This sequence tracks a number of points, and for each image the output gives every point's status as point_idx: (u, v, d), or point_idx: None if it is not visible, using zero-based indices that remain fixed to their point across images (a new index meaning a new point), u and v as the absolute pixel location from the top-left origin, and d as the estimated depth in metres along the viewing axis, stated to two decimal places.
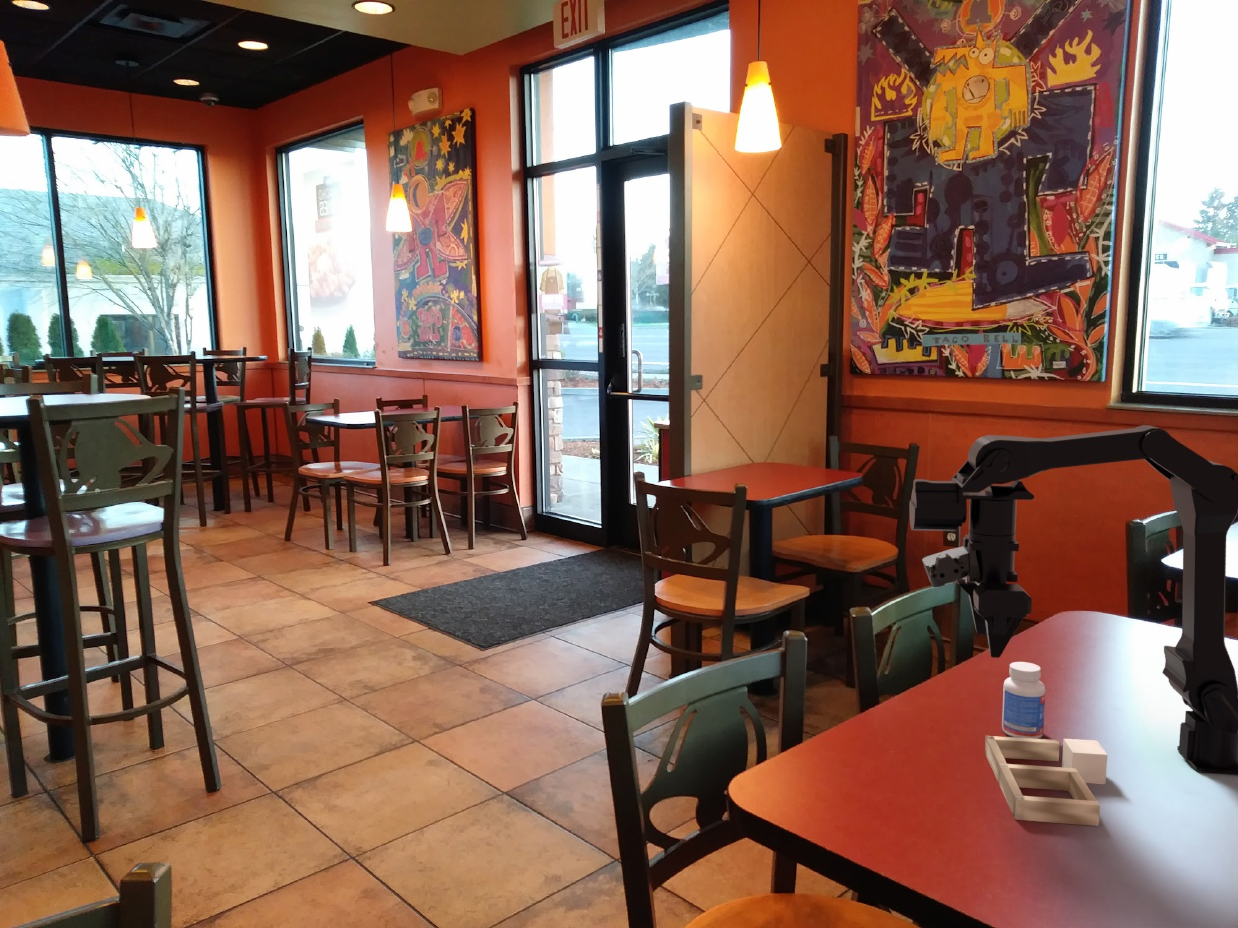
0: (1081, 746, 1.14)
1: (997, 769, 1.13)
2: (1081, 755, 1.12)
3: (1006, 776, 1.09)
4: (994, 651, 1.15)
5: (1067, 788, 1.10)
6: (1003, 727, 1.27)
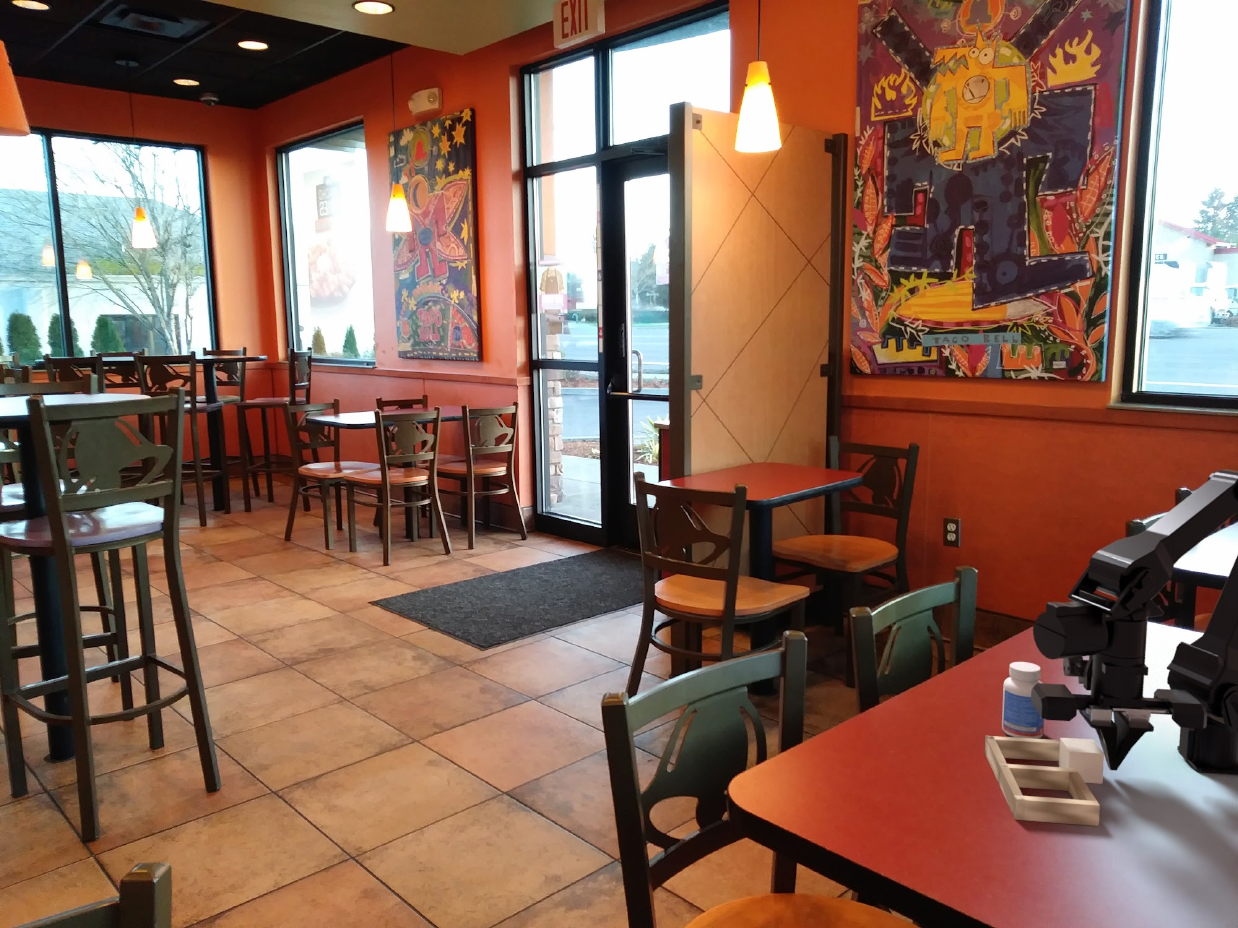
0: (1077, 745, 1.14)
1: (997, 769, 1.13)
2: (1078, 754, 1.12)
3: (1006, 776, 1.09)
4: (1106, 760, 1.14)
5: (1067, 788, 1.10)
6: (1003, 727, 1.27)
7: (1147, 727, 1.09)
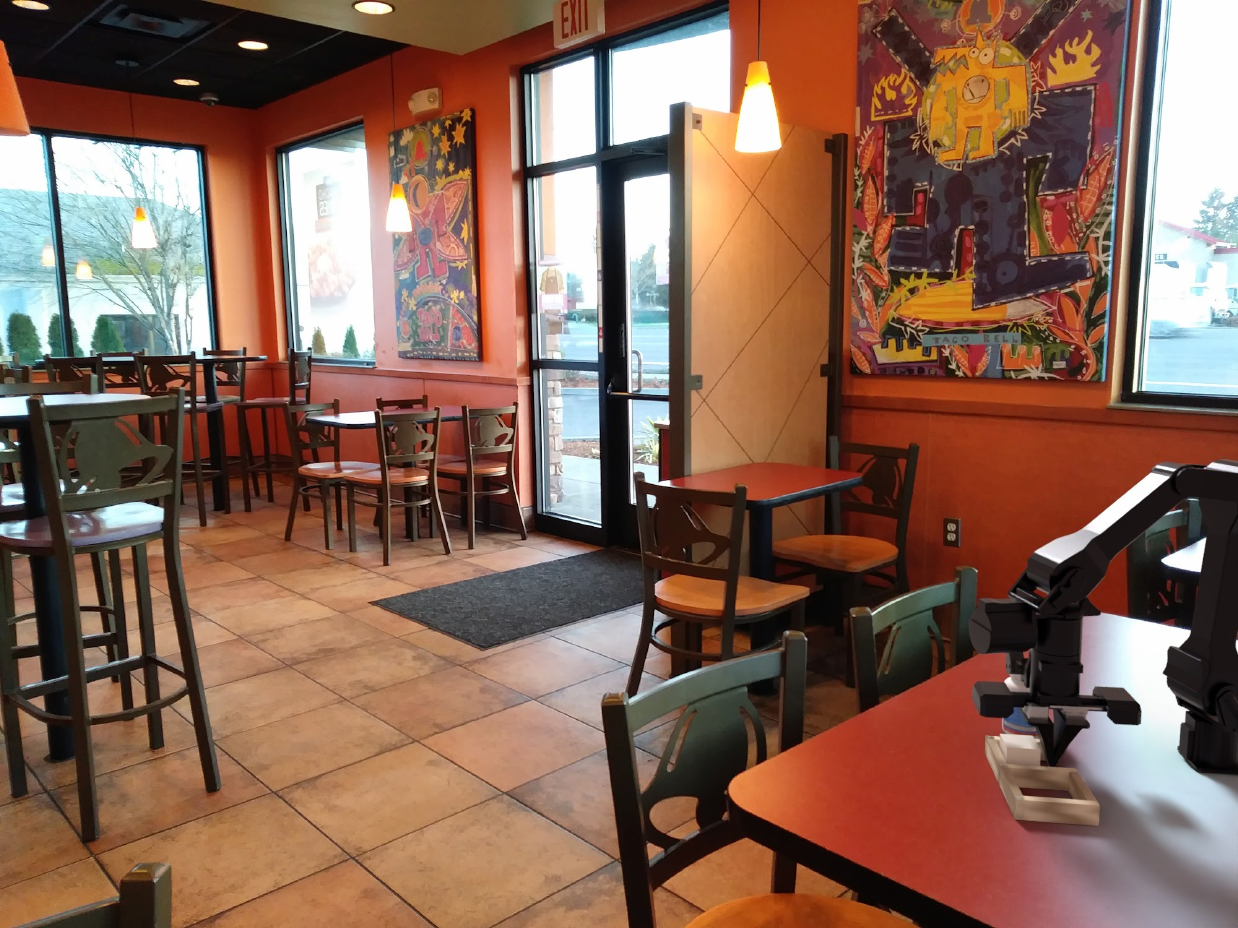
0: (1016, 741, 1.15)
1: (997, 769, 1.13)
2: (1015, 750, 1.14)
3: (1006, 776, 1.09)
4: (1045, 757, 1.15)
5: (1067, 788, 1.10)
6: (1003, 727, 1.27)
7: (1083, 724, 1.11)
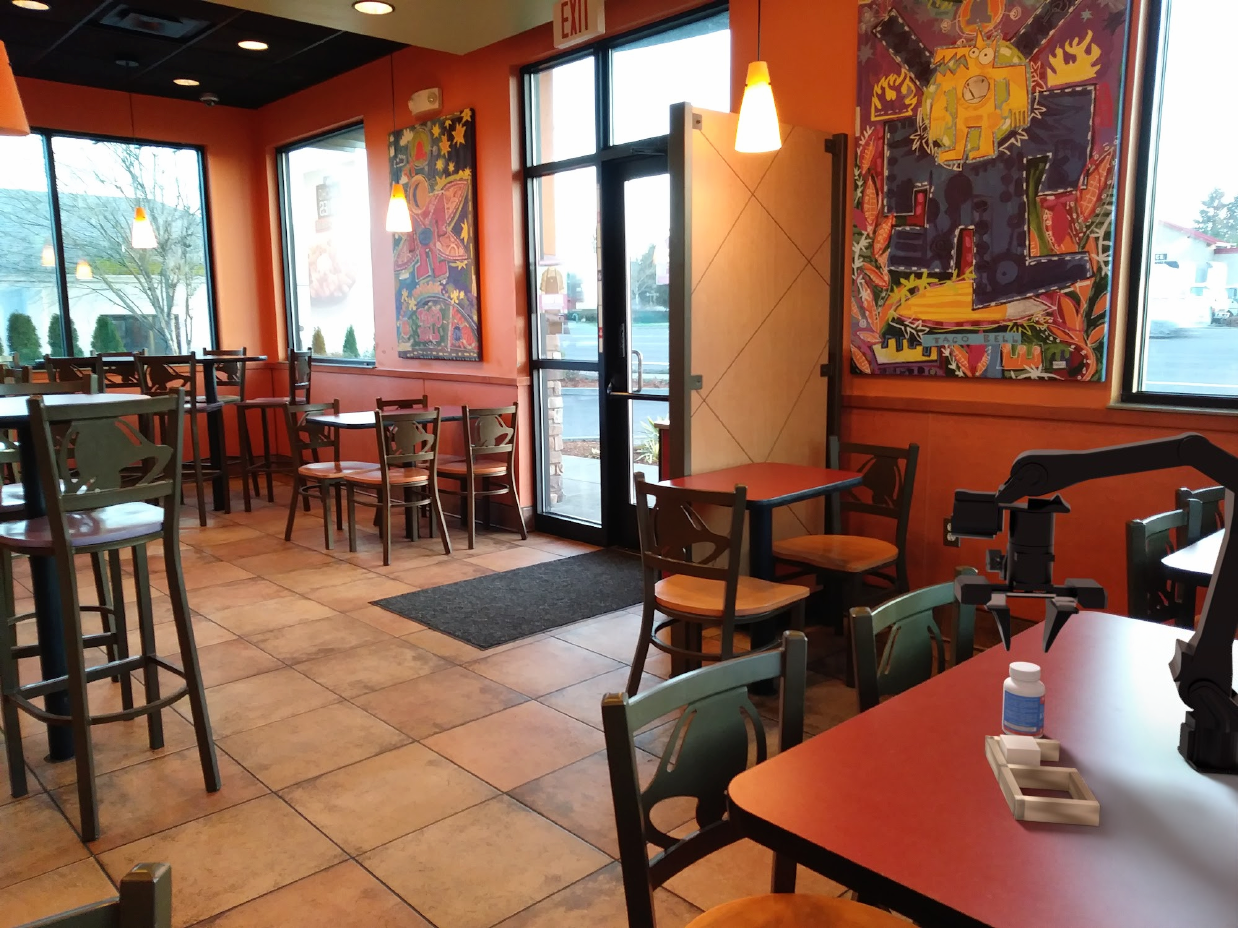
0: (1016, 742, 1.15)
1: (997, 769, 1.13)
2: (1015, 751, 1.14)
3: (1006, 776, 1.09)
4: (1003, 643, 1.26)
5: (1067, 788, 1.10)
6: (1003, 727, 1.27)
7: (1073, 610, 1.20)
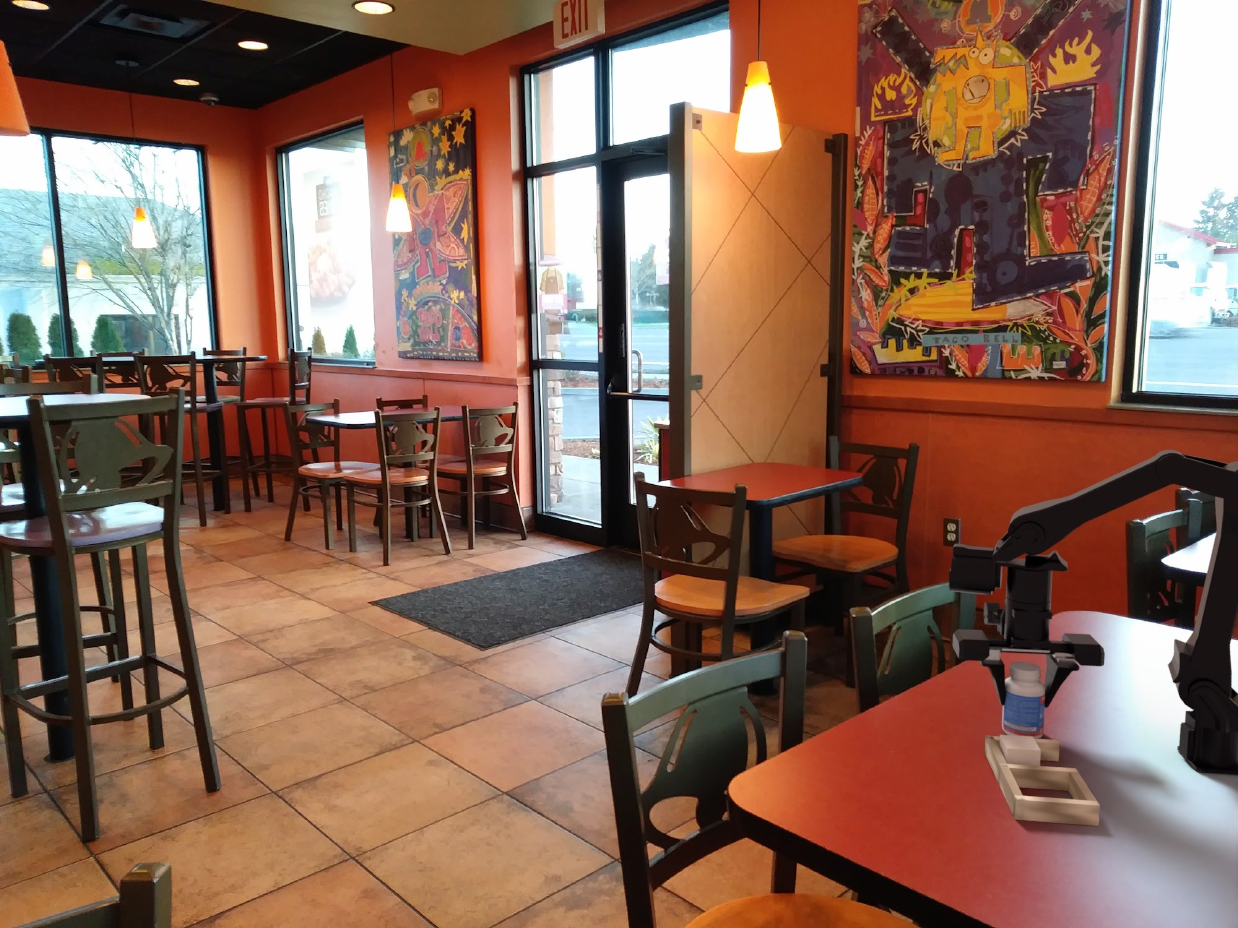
0: (1016, 742, 1.15)
1: (997, 769, 1.13)
2: (1015, 751, 1.14)
3: (1006, 776, 1.09)
4: (998, 697, 1.27)
5: (1067, 788, 1.10)
6: (1003, 727, 1.27)
7: (1073, 667, 1.22)
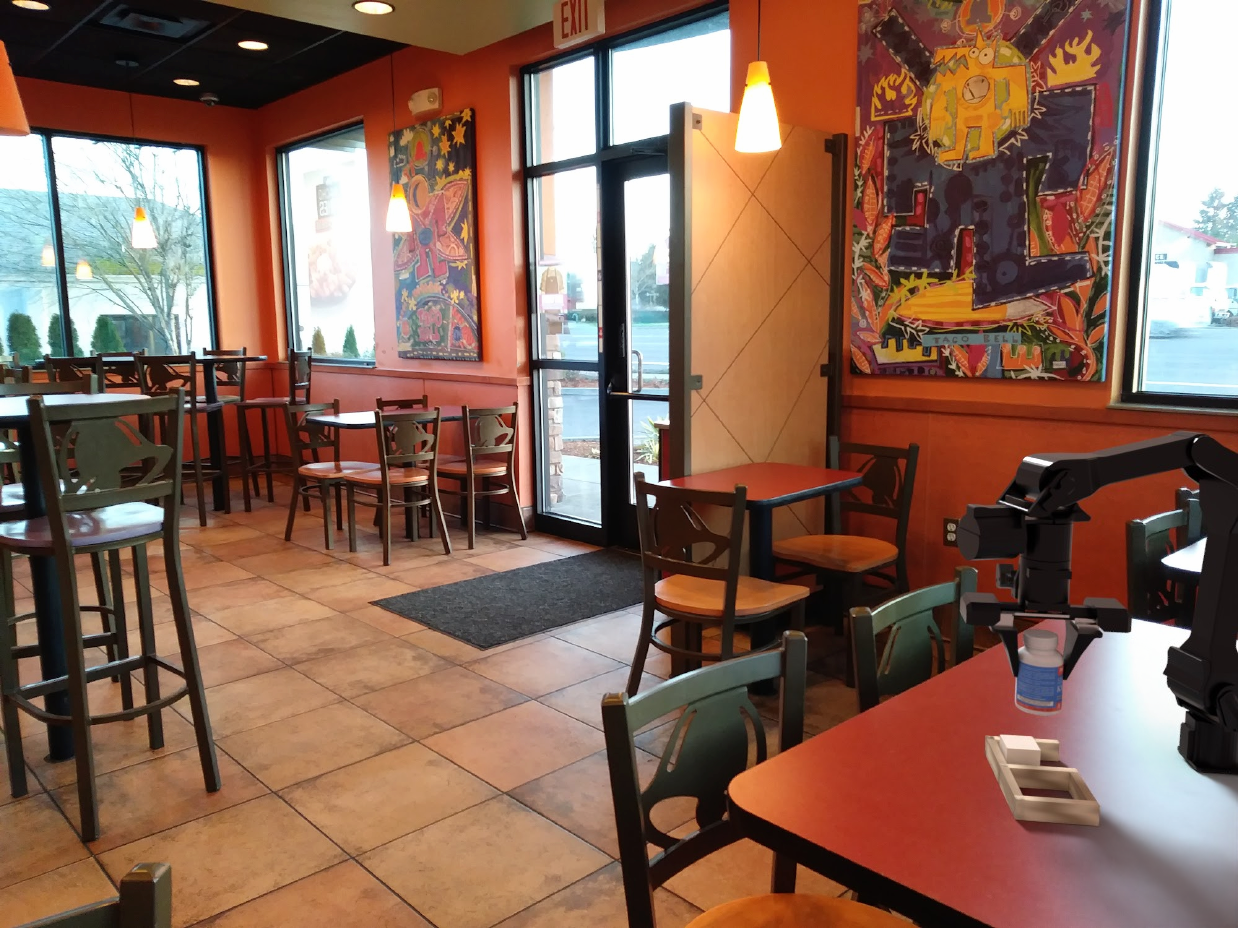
0: (1016, 742, 1.15)
1: (997, 769, 1.13)
2: (1015, 751, 1.14)
3: (1006, 776, 1.09)
4: (1011, 668, 1.13)
5: (1067, 788, 1.10)
6: (1016, 702, 1.13)
7: (1096, 633, 1.08)
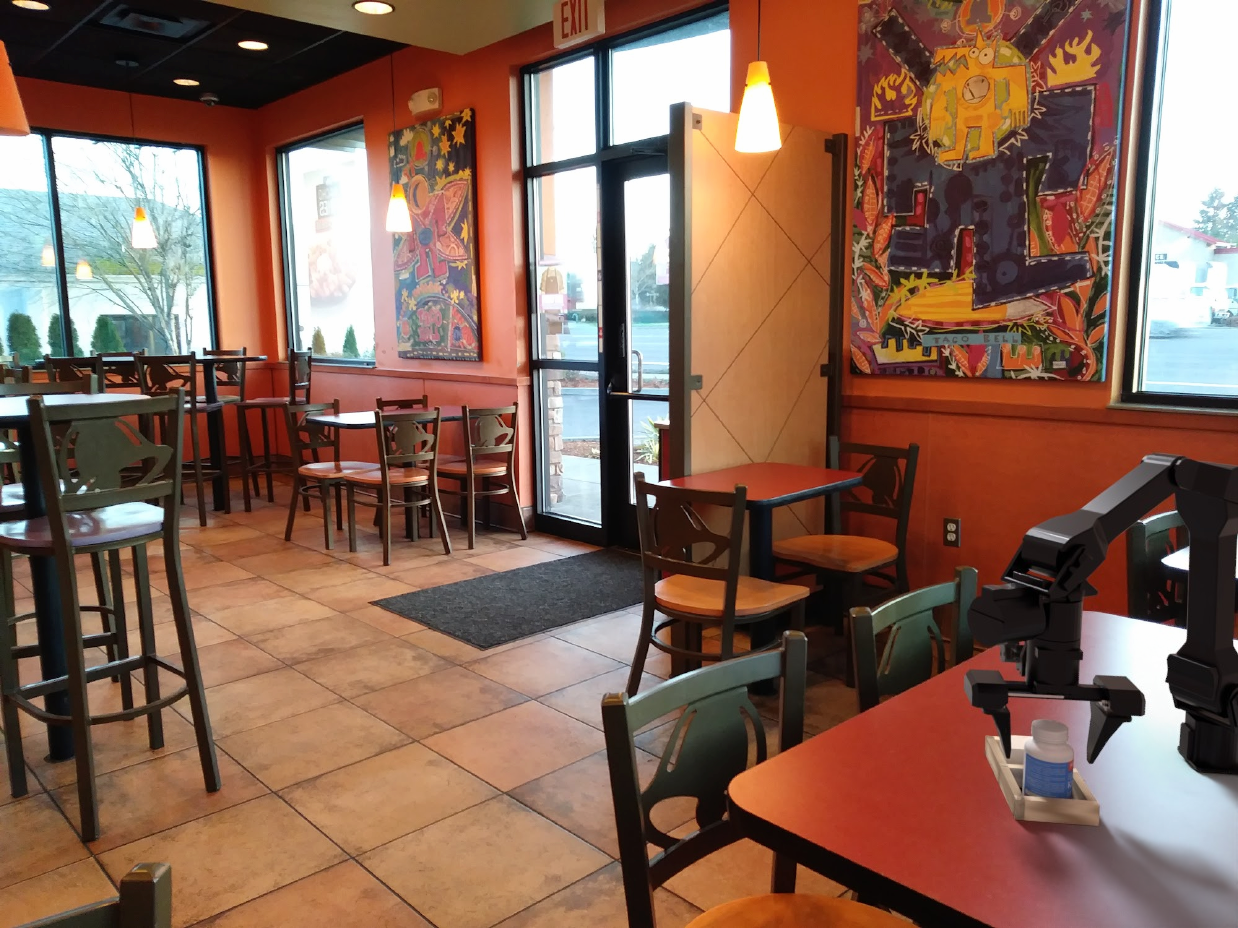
0: (1016, 742, 1.15)
1: (997, 769, 1.13)
2: (1015, 751, 1.14)
3: (1006, 776, 1.09)
4: (1003, 749, 1.08)
5: None
6: None
7: (1125, 717, 1.02)
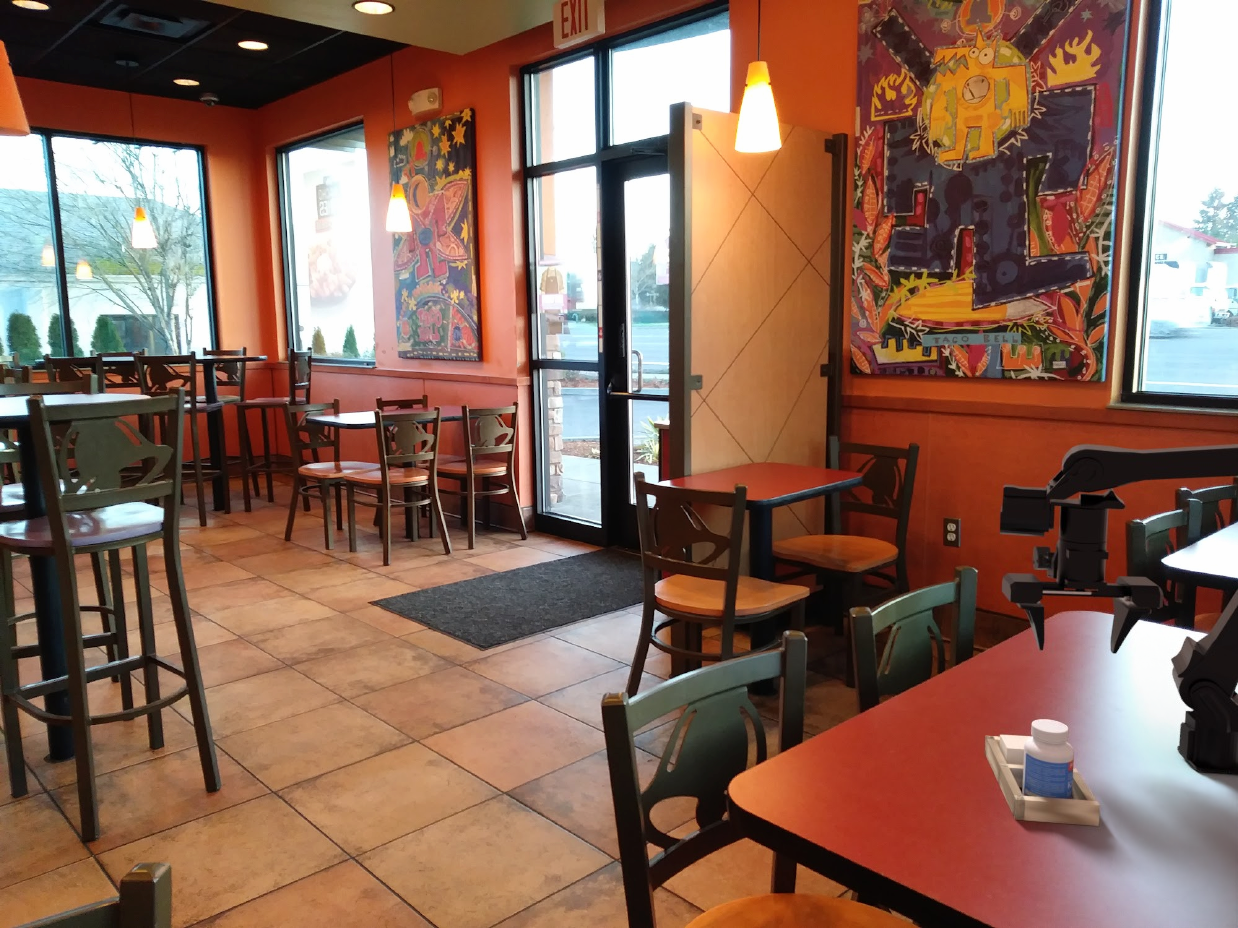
0: (1016, 742, 1.15)
1: (997, 769, 1.13)
2: (1015, 751, 1.14)
3: (1006, 776, 1.09)
4: (1036, 642, 1.23)
5: None
6: None
7: (1145, 609, 1.17)
